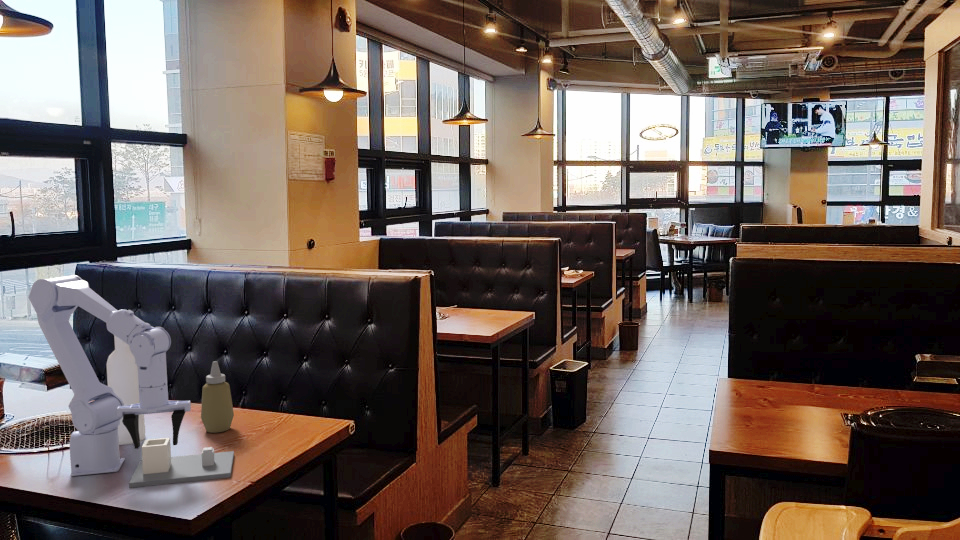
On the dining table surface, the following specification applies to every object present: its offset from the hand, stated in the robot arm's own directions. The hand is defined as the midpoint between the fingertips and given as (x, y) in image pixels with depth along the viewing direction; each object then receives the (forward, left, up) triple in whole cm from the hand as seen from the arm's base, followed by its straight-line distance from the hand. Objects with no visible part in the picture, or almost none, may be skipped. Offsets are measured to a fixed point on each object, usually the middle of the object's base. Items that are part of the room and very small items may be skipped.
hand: (156, 445), depth 160 cm
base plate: (+5, 0, -6) cm, 8 cm away
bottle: (-11, +26, -7) cm, 29 cm away
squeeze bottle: (+10, +28, -7) cm, 31 cm away
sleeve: (0, 0, -5) cm, 5 cm away
